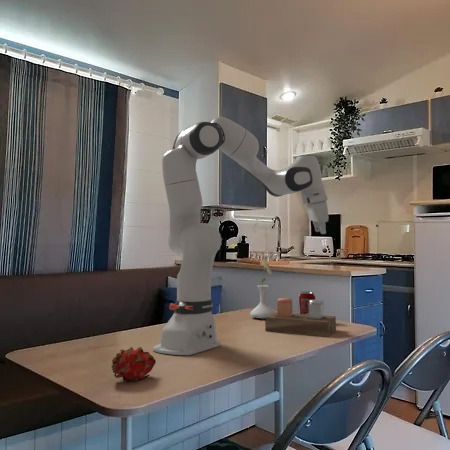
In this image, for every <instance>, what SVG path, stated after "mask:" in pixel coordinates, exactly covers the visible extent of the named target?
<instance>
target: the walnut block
mask: <svg viewBox="0 0 450 450" xmlns="http://www.w3.org/2000/svg"><path fill="white" fill-rule="evenodd" d="M336 317H337V316H336V315H335V316H331V315H324V319H323V320H316V319H309V315H306V314H299V313H293V316H292V317H290V318H288V317H277V312H276V313H275V314H272V315H270V316H267V317H265V319H264V321H265V332H273V333H284V334H294V335H304V334H305V335H307V336H317V337H319V336H320V337H330V335H331V334H333V333H334V332H335V331H336V330H337V323H336V322H337V320H336Z"/></svg>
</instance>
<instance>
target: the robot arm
mask: <svg viewBox="0 0 450 450" xmlns="http://www.w3.org/2000/svg"><path fill="white" fill-rule="evenodd" d="M259 149H260V145H259V141H258V138H257V137H256V136H255V135H254V134H253V133H252V132H250V131H249V130H248V129H246V128H244V127H243V126H241V124H239V123H237V122H235V121H233V120H232V119H229V118H227V117H225V116H218V117H214V119H213V120H211V121H210V122H209V121H200V122H196V123H195V124H192V125H190V126H188V127H186V128H185V129H183V130H182V131H181V132H179V133H178V134H177V135H176V137H175V139H174V142H173V146H172V149H169V150H168V151H166V152H165V153H164V154H163V157H162V159H161V164H162V165H161V166H162V177H163V183H164V188H165V193H166V194H165V195H166V197H167V198H166V199H167V204H168V211H169V235H168V239H167V241H168V246H169V248H170V250H171V251H172V252H173V253H174V254H175V255H178V256H180V257H182V259H181V265H180V270H179V272H178V273H177V275H176V300H175V303H169V305H168V306H169V310H171V311H172V310H173V314H172V316H171V317H170V318H169V320H168V321H167V323H166V324H165V326H164V327H163V328H162V330H161V334H160V343H158V344H157V345H154V346H153V348H152V351H153V352H156V353H160V354H165V355H166V354H167V355H172V356H173V355H174V356H191V355H195V354H199V353H201V352H205V351H207V350H211V349H214V348H218V347H220V346H221V342H220V341H219V340H218V334H217V333H218V332H217V322H216V318H215V317H214V315H213V313H212V311H213V300H212V294H211V293H212V271H213V266H214V261H215V258H216V255H217V253H218V251H219V249H221V246H222V236H221V234H220V231H219V230H218V229H217V228H215V226H212V225H210V224H206V223H202V222H201V210H202V206H203V197H202V193H201V192H202V191H201V188H200V183H199V178H198V173H197V166H196V165H197V162H198V161H197V160H200V159H201V160H202V159H204V158H207V157H208V156H209V155H212V154H214V153H215V152H217V150H218V151H221V152H222V154H224V155H226V156H227V157H228V158H231V159H232V160H233V161H234V162H236V163H237V164H238V165H239V166H240V167H241V168H242V169H244V170H245V171H246V172H247V173H248V174H250V176H252V177H253V178H255V179H256V180H257V181H259V182H260V184H261V185H262V186H263V188H264V189H265V190H266V192H267V193H268V194H269V195H270V196H273V197H277V198H278V197H283V196H285V195H289V194H295V193H299V192H300V194H301V198H302V199H301V200H302V204H303V205H305V204H306V210H307V214H308V215H307V216H308V218H309V219H308V220H309V221H312V224H313V226H314V231H315V232H316V233H319V232H320V234H321V235H325V234H327V230H326V228H327V226H326V223H328V222H329V210H328V208H329V207H328V203H327V201H328V200H329V199H328V195H327V194H326V191H325V187H324V186H325V185H324V183H323V180H322V179H323V176H322V171H321V166H320V163H319V160H318V158H317V157H316V156H315V155H312V154H304V155H298V156H297V157H296V158H295V160H294V161H293V162H292V163H291V164H290V165H288V166H287V167H285V168H282V169H272V168H270V167H269V166H267V165H266V164H265V163H264V162H263V161H261V160H260V159H259V158H258V157H257V155H258V154H259Z"/></svg>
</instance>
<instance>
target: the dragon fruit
mask: <svg viewBox="0 0 450 450" xmlns="http://www.w3.org/2000/svg"><path fill="white" fill-rule="evenodd" d="M111 361H112V363H111V364H112V365H111V370H112V372H113V374H114V378H116V379H120V378H122V381H123V382H125V381H126V382H127V381H128V380H131V381H133V382H137V381H138V380H139V379H140V380H141V379H142V380H146V379H148V378H149V377H150V374H149V373H150V372H152V370H153V368H154V367H155V365H156V361H157V360H156V359H155V357H154V356H153V355H151V353H150V352H149V351H145V350H143V348H142V347H141V346H139V347H137V348H136V349H134V348H133V347H132V346H131V347H129V348H128V349H126V350H125V349H120V350H119V352H117V353H116V354H115V356H114V357H113V359H112V360H111Z"/></svg>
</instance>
